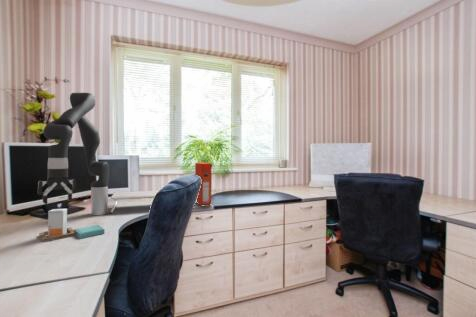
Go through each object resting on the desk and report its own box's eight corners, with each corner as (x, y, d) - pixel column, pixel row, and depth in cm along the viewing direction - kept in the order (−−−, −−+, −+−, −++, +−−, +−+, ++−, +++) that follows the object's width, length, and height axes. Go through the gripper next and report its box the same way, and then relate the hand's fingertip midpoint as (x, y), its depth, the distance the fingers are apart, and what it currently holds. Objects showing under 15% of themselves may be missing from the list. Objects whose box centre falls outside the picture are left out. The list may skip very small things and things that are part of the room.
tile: (74, 233, 111) (74, 228, 111) (97, 228, 118) (97, 224, 118) (79, 238, 104) (79, 233, 104) (104, 233, 111) (104, 228, 111)
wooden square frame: (39, 235, 107) (39, 232, 107) (70, 229, 116) (70, 227, 116) (43, 242, 99) (43, 239, 99) (76, 235, 108) (76, 232, 108)
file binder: (200, 206, 173) (201, 163, 173) (194, 201, 188) (195, 162, 188) (211, 205, 176) (211, 163, 176) (204, 201, 192) (204, 162, 192)
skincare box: (47, 237, 105) (47, 211, 105) (52, 234, 109) (52, 209, 109) (63, 236, 106) (63, 210, 106) (67, 233, 110) (67, 208, 110)
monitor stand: (109, 214, 147) (109, 197, 146) (115, 205, 173) (115, 191, 172) (170, 210, 160) (170, 194, 160) (166, 202, 186) (166, 189, 186)
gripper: (74, 167, 115) (74, 199, 115) (36, 167, 105) (36, 203, 105) (78, 167, 110) (78, 201, 110) (39, 168, 99) (38, 206, 100)
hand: (57, 202), depth 107 cm, fingers open, 8 cm apart
